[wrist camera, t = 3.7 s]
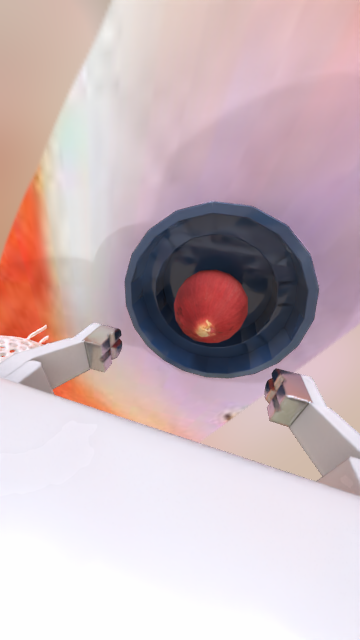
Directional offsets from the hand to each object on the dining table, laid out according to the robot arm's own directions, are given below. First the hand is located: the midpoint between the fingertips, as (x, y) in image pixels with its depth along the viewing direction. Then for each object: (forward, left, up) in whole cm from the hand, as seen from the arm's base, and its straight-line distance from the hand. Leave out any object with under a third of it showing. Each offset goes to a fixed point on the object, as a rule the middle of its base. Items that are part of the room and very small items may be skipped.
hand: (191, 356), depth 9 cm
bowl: (0, 0, -10) cm, 10 cm away
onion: (0, 0, -10) cm, 10 cm away
